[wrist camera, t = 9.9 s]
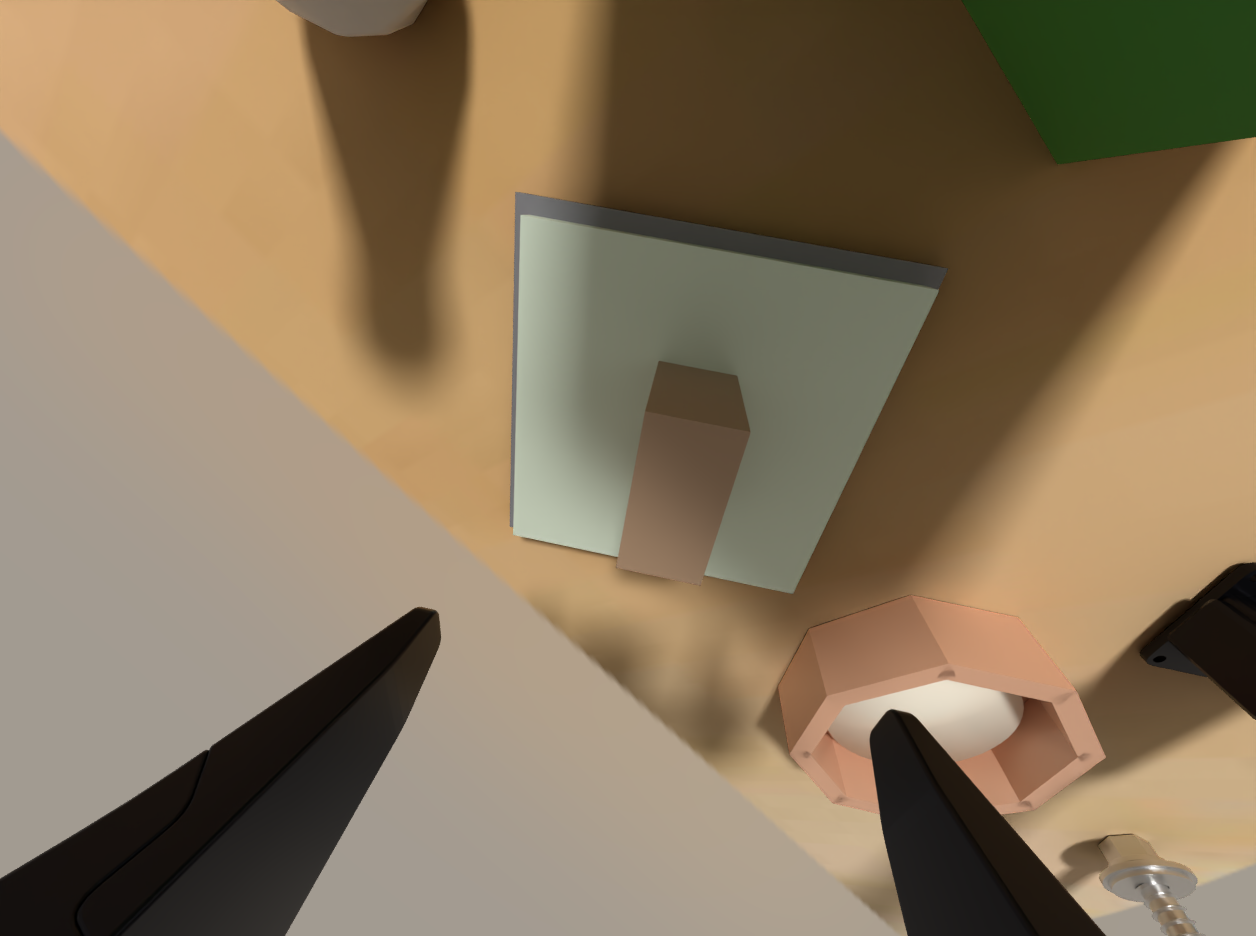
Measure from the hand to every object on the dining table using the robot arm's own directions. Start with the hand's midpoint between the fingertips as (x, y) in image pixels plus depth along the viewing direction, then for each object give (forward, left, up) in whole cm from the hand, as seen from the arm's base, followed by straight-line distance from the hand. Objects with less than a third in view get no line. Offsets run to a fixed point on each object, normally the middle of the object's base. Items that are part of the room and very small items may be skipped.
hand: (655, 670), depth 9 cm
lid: (0, 0, -12) cm, 12 cm away
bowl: (-16, +14, -13) cm, 24 cm away
